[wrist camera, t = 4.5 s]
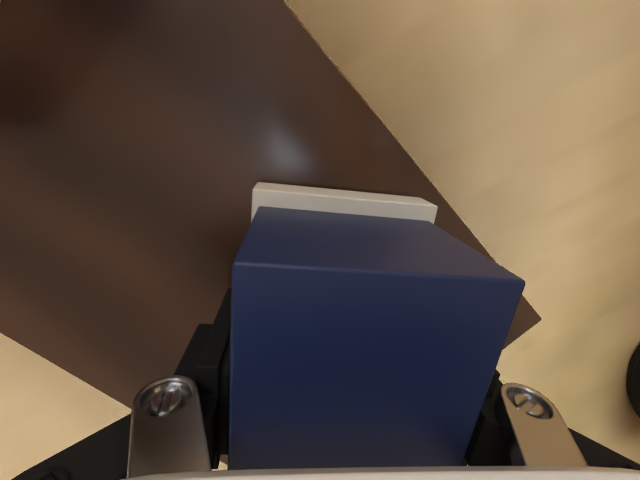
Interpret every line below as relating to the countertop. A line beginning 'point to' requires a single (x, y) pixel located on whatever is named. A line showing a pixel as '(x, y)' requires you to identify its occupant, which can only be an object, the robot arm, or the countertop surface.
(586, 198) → the countertop surface
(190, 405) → the robot arm
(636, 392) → the high-heeled shoe
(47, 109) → the dark brown flat board
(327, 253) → the blue pale-edged block
